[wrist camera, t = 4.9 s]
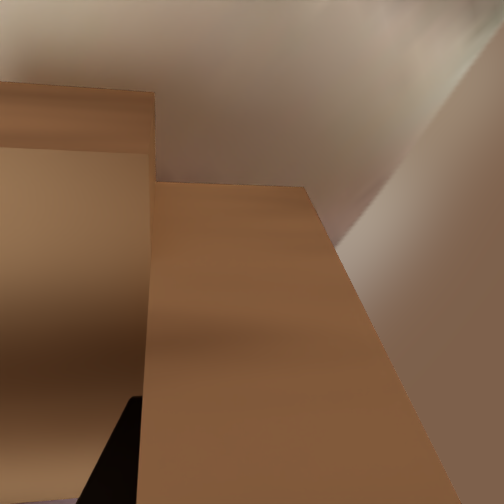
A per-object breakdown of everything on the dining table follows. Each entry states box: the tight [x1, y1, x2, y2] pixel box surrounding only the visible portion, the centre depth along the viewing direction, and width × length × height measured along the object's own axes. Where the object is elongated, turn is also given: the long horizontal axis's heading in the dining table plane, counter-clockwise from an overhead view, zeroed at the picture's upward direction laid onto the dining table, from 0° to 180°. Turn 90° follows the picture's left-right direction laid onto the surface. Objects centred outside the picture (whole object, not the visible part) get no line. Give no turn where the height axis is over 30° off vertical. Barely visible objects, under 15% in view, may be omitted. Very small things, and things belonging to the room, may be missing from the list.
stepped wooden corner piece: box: [0, 81, 461, 504], centre depth 8 cm, size 10×8×9 cm
